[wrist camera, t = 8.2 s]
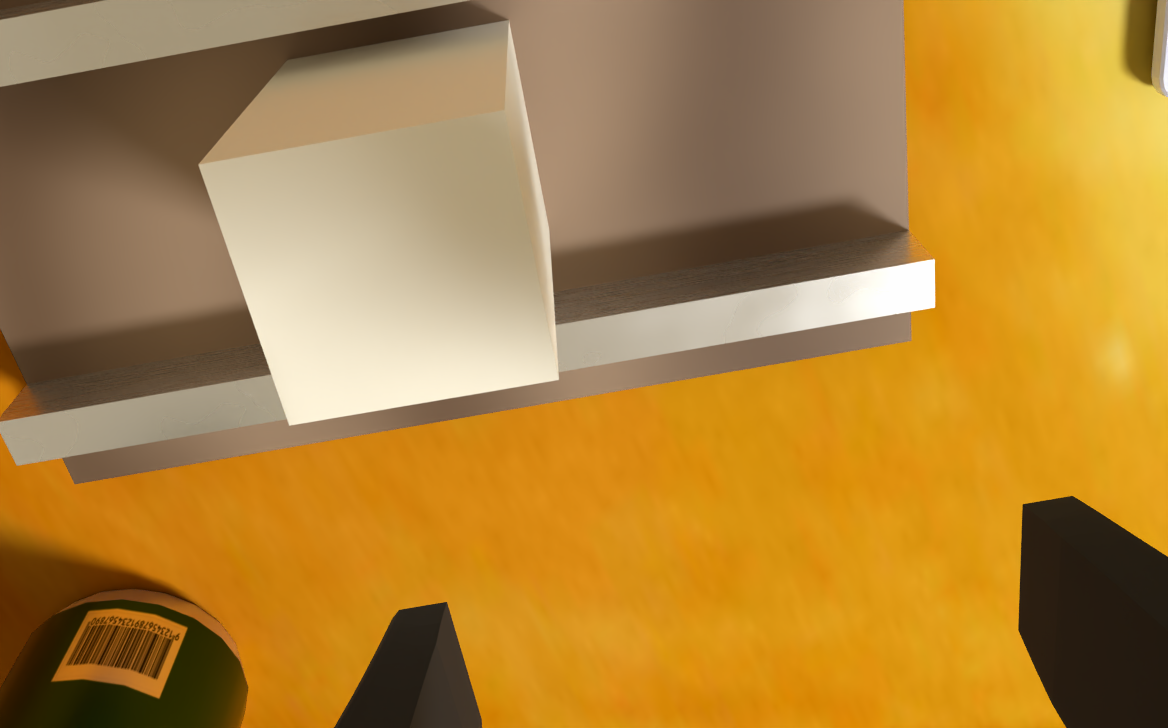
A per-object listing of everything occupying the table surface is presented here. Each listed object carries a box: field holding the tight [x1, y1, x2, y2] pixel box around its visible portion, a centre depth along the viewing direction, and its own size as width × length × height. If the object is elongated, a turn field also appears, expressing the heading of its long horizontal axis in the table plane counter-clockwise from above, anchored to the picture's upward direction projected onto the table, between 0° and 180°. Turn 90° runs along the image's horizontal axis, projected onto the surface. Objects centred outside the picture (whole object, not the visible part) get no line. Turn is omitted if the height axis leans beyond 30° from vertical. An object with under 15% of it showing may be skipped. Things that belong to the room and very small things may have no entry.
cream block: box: [198, 20, 559, 426], centre depth 17 cm, size 4×4×6 cm
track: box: [0, 0, 935, 484], centre depth 20 cm, size 18×11×2 cm, turn 99°
